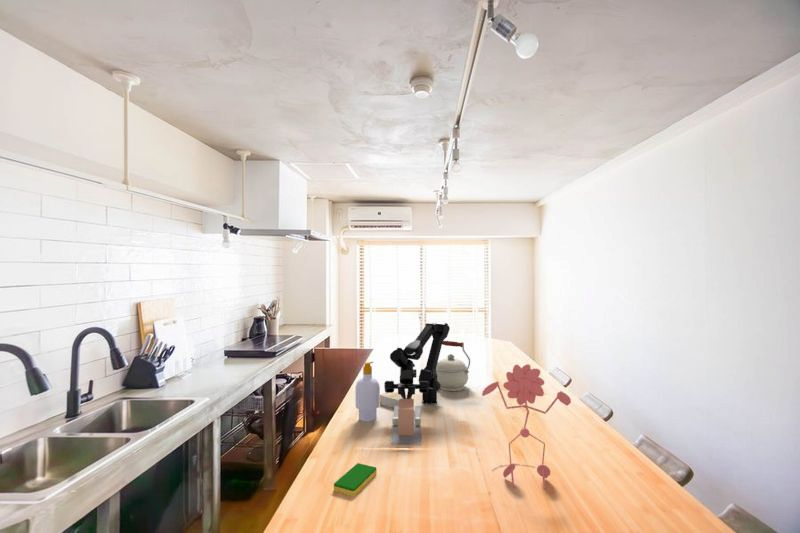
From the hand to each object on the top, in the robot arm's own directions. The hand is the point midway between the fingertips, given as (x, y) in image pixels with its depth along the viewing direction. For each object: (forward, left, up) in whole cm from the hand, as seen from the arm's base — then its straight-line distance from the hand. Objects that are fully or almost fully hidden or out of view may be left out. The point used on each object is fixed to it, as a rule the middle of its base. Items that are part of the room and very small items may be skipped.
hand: (406, 405), depth 165 cm
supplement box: (+10, -26, -5) cm, 29 cm away
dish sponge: (+15, +44, -8) cm, 47 cm away
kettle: (-22, -52, -8) cm, 57 cm away
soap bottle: (+17, -5, -8) cm, 19 cm away
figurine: (-37, +40, -8) cm, 55 cm away
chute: (0, +3, -8) cm, 8 cm away
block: (0, +6, -7) cm, 10 cm away
